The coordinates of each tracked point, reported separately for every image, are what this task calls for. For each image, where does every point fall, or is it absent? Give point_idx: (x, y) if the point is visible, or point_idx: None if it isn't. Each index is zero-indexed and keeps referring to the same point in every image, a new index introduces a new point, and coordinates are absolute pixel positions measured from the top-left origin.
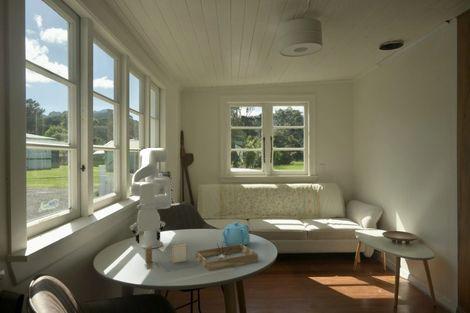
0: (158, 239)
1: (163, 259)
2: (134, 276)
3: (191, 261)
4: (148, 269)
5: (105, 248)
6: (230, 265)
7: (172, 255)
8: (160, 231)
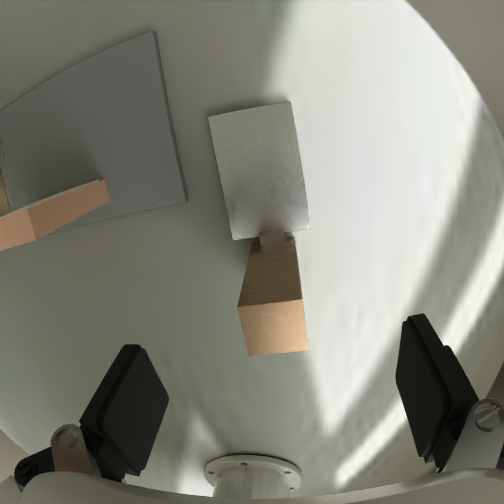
0: (128, 351)
1: (177, 300)
2: (370, 41)
3: (21, 185)
4: (277, 104)
5: (428, 471)
6: None
7: (80, 207)
8: (62, 435)
